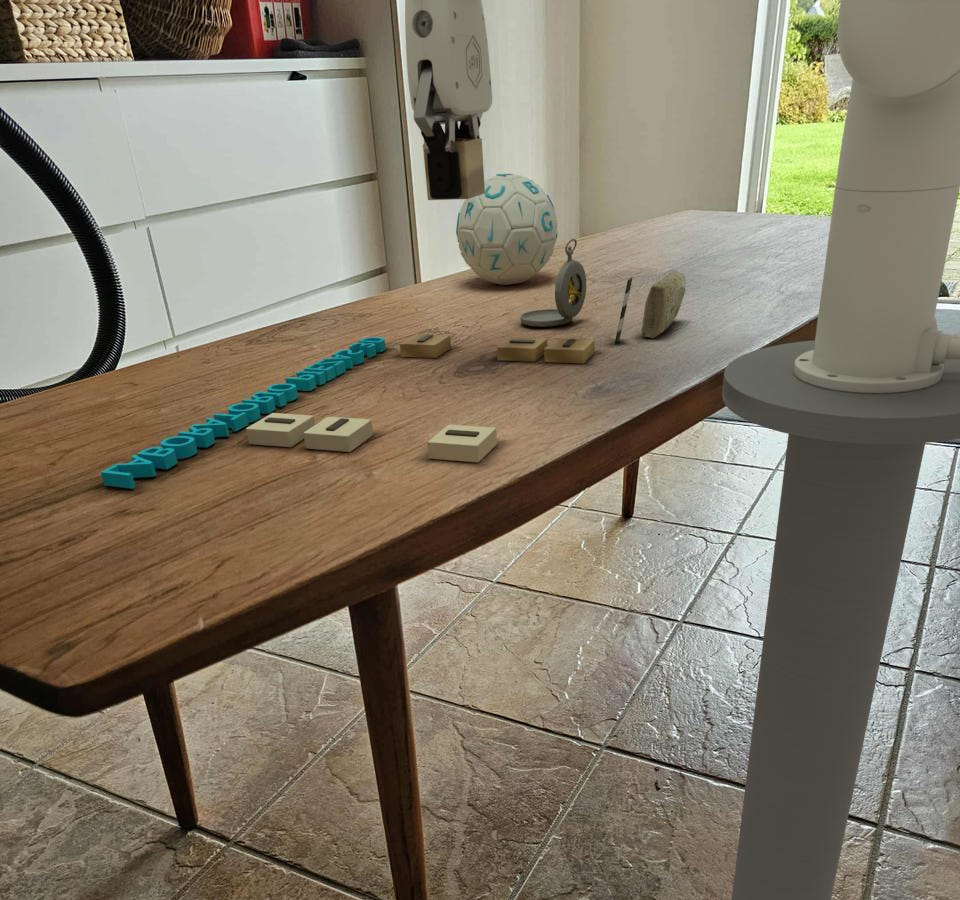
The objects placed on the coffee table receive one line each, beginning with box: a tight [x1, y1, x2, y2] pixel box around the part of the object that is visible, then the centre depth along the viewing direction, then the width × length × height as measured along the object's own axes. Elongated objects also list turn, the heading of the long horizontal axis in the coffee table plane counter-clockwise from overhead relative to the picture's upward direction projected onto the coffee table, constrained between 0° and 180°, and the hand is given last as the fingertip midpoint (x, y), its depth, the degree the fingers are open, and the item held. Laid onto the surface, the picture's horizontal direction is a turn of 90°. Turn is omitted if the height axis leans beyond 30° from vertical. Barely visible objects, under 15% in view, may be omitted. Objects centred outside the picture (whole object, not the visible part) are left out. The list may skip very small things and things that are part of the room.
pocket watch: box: [519, 238, 587, 328], centre depth 111 cm, size 8×8×10 cm
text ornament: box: [100, 336, 387, 489], centre depth 91 cm, size 45×3×1 cm, turn 157°
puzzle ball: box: [455, 173, 559, 286], centre depth 134 cm, size 15×15×15 cm
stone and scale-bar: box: [614, 269, 687, 345], centre depth 105 cm, size 7×4×12 cm
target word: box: [245, 412, 498, 463], centre depth 79 cm, size 22×4×2 cm, turn 69°
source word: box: [399, 333, 596, 365], centre depth 102 cm, size 22×4×2 cm, turn 69°
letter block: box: [422, 137, 485, 201], centre depth 90 cm, size 4×4×5 cm
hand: (456, 192), depth 92 cm, fingers closed on letter block, 4 cm apart
